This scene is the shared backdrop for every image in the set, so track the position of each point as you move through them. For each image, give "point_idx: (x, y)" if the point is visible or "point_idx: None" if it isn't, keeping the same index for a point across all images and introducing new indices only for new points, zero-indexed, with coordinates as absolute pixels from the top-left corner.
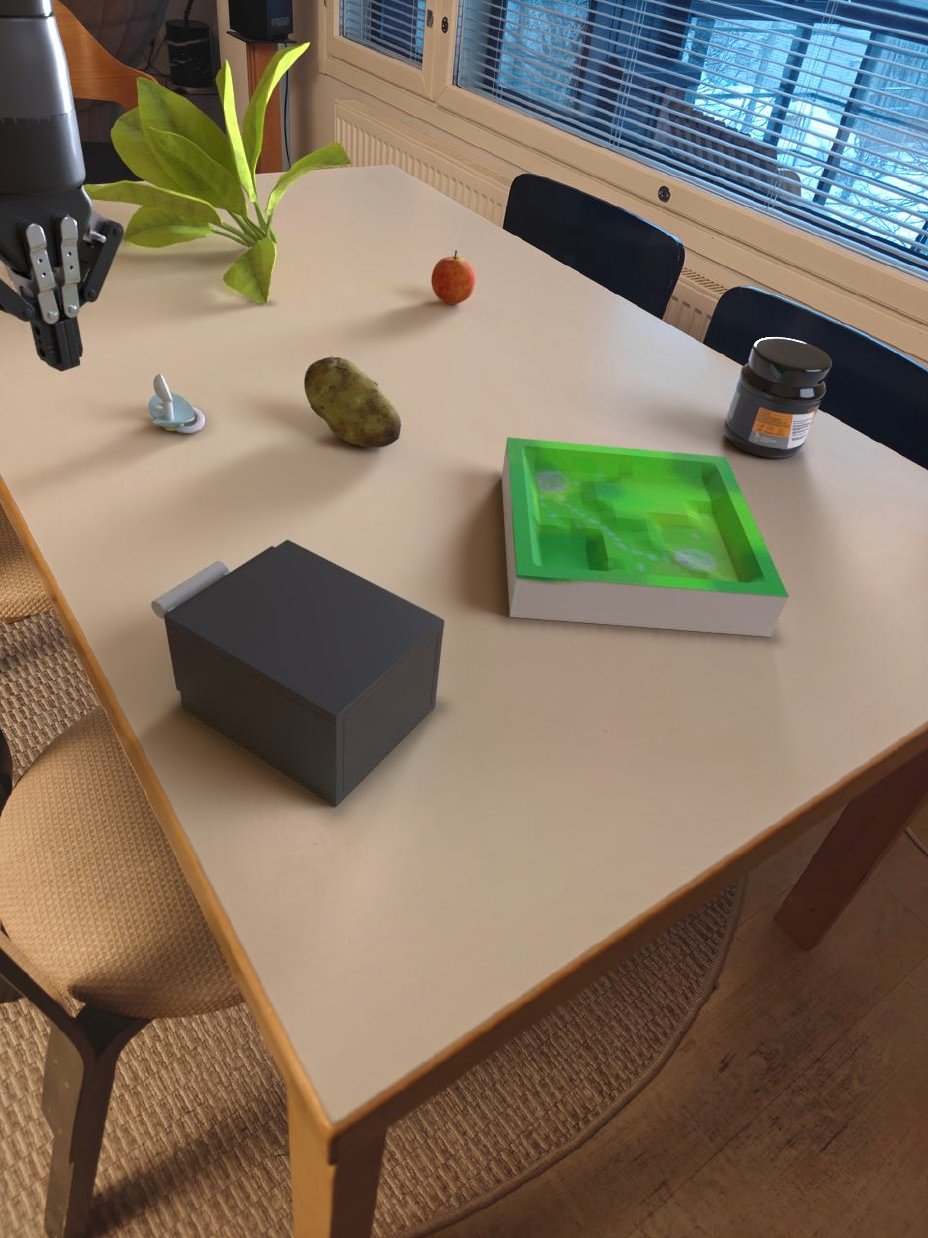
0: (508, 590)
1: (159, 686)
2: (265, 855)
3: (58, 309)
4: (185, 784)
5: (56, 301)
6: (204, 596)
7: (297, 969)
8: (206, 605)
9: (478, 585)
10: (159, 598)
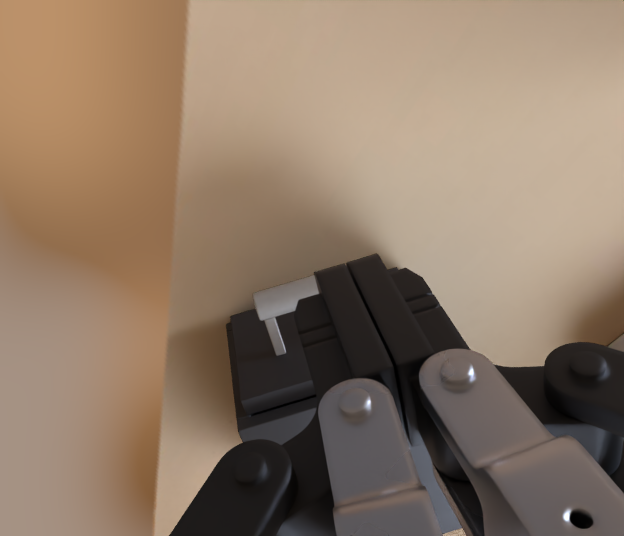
0: (622, 337)
1: (219, 283)
2: (206, 478)
3: (429, 448)
4: (182, 402)
5: (446, 457)
6: (297, 417)
7: None
8: (289, 430)
9: (611, 312)
10: (265, 310)
